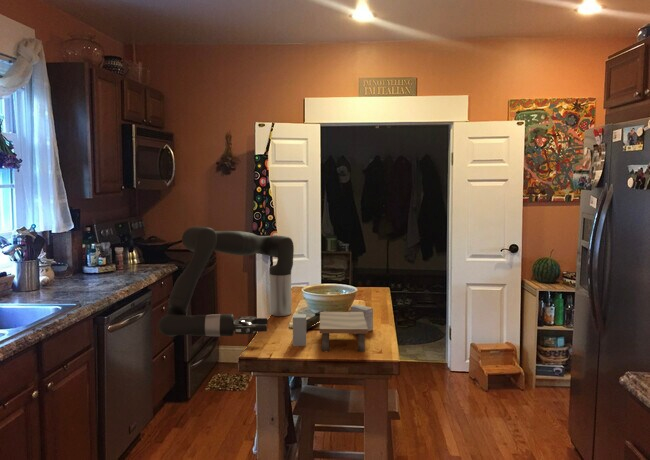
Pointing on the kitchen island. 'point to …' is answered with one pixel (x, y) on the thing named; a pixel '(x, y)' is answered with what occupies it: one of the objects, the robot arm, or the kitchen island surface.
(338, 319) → the peg shelf
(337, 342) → the kitchen island surface
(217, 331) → the robot arm
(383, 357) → the kitchen island surface
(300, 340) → the upright block
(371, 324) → the medicine box
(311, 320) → the hand tool
